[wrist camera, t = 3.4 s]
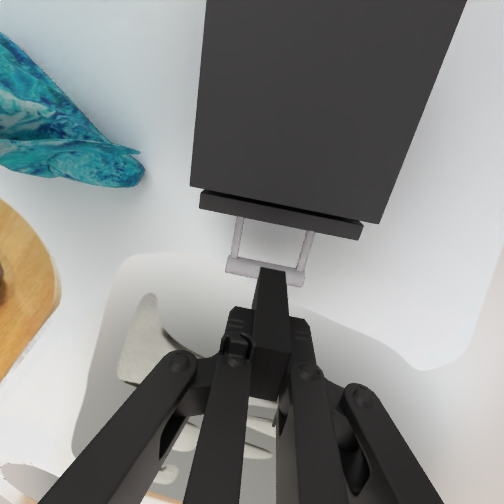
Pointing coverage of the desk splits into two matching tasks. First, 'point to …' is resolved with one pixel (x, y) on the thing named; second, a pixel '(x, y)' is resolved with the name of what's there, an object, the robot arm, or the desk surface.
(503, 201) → the desk surface
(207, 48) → the cabinet
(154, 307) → the desk surface
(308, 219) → the drawer
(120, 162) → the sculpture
